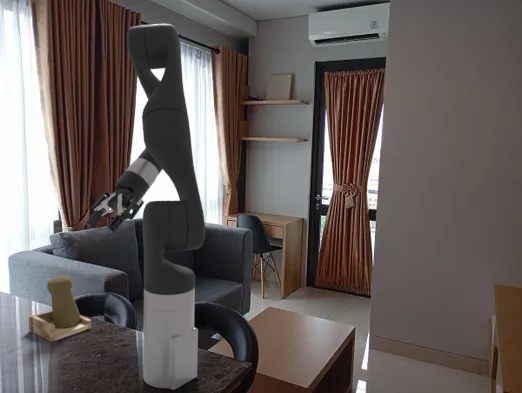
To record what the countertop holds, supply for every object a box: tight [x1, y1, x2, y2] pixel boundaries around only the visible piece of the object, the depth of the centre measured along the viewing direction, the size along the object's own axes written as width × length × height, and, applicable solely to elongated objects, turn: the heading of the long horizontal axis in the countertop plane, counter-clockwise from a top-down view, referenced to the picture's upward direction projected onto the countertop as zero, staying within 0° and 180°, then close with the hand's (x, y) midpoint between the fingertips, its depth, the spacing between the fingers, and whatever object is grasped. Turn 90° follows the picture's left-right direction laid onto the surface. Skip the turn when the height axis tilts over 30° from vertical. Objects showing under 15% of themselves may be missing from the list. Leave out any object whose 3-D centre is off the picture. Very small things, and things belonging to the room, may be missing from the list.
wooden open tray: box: [28, 310, 92, 343], centre depth 100 cm, size 9×10×4 cm
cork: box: [46, 275, 81, 328], centre depth 100 cm, size 6×6×11 cm
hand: (99, 227), depth 105 cm, fingers open, 8 cm apart
